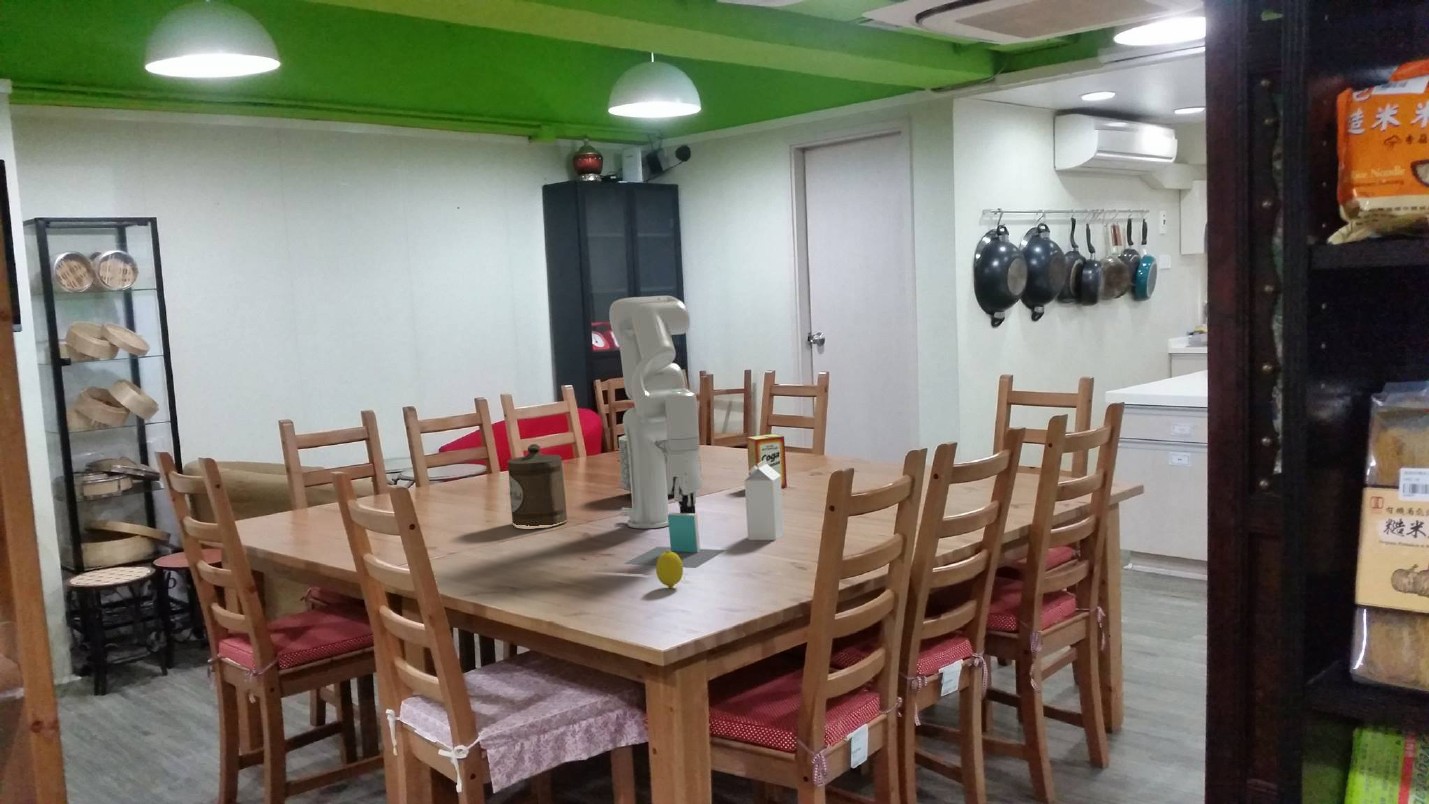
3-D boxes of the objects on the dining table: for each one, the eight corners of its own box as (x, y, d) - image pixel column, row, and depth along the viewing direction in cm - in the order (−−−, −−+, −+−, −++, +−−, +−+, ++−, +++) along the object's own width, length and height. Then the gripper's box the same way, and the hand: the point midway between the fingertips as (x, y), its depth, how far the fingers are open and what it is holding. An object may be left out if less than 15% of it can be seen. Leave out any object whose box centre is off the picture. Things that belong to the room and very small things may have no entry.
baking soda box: (758, 491, 329) (755, 438, 327) (749, 487, 335) (746, 436, 333) (786, 487, 332) (784, 435, 330) (777, 484, 338) (775, 433, 336)
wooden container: (514, 520, 306) (508, 443, 304) (567, 516, 308) (562, 439, 306) (510, 531, 292) (504, 450, 289) (566, 527, 293) (560, 446, 291)
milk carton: (784, 535, 268) (779, 459, 266) (776, 542, 261) (771, 464, 259) (756, 535, 270) (752, 459, 268) (747, 541, 264) (743, 464, 262)
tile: (670, 551, 256) (666, 514, 255) (673, 549, 257) (669, 512, 256) (697, 553, 253) (693, 515, 252) (700, 551, 254) (696, 513, 253)
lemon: (657, 585, 229) (654, 548, 228) (683, 583, 230) (680, 546, 229) (657, 592, 224) (655, 554, 223) (684, 590, 224) (682, 552, 223)
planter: (683, 499, 322) (680, 438, 320) (619, 503, 323) (615, 442, 321) (686, 487, 341) (682, 430, 339) (625, 491, 342) (621, 433, 340)
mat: (624, 566, 247) (624, 563, 247) (657, 549, 262) (657, 546, 262) (695, 570, 240) (695, 567, 240) (725, 552, 254) (725, 550, 254)
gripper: (683, 440, 263) (687, 515, 265) (654, 449, 250) (659, 528, 251) (711, 440, 260) (716, 516, 262) (683, 450, 246) (688, 530, 248)
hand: (688, 522), depth 257 cm, fingers closed
